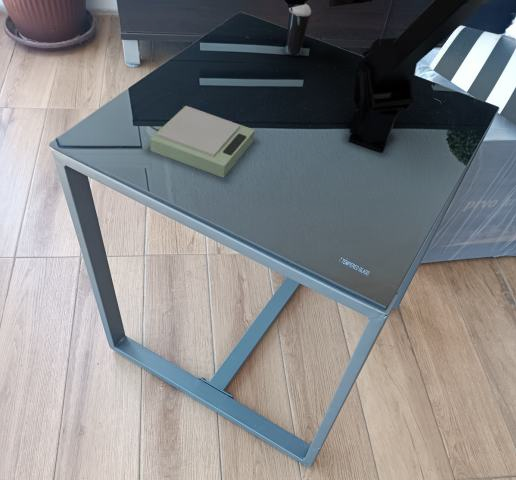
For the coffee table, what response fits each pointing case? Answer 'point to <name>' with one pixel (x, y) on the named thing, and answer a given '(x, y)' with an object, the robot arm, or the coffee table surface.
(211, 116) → the scale
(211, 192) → the coffee table surface
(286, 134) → the coffee table surface
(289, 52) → the milkshake
